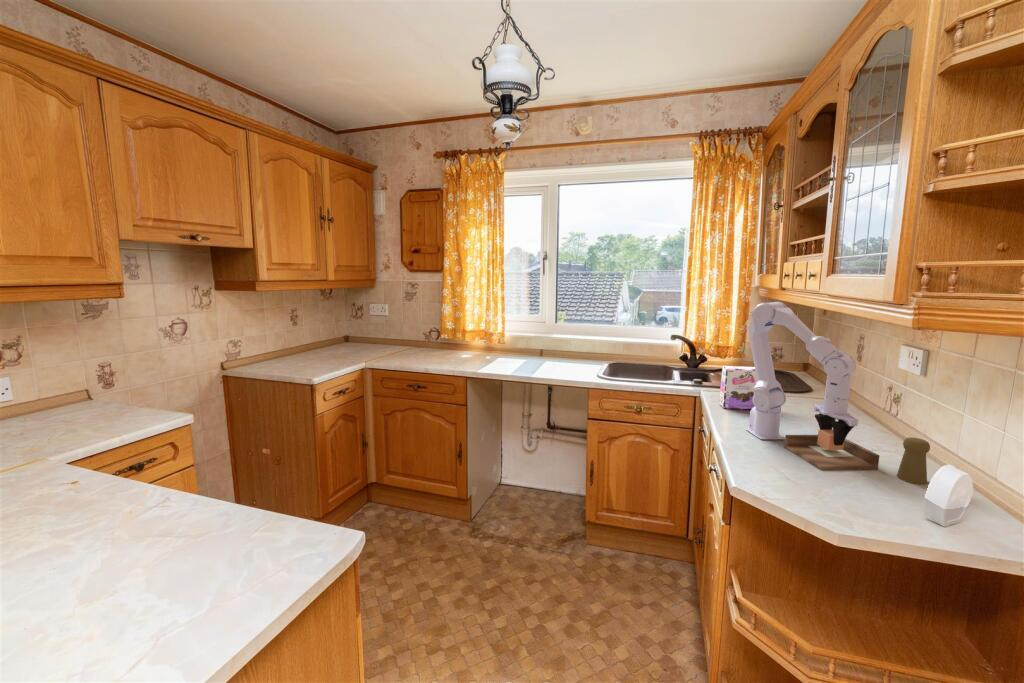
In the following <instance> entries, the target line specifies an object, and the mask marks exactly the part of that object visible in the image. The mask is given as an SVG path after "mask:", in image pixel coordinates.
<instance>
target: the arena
mask: <svg viewBox="0 0 1024 683" xmlns="http://www.w3.org/2000/svg"><path fill="white" fill-rule="evenodd" d="M784 438H785V439H784V448H785V449H786V450H788V451H790V452H791V453H793V454H795V455H796V456H797V457H799V458H801V460H803V461H806V462H807V463H809V464H810V465H812V466H813V467H815V468H816V469H818V470H819V471H822V470H824V471H826V470H827V471H828V470H829V471H832V470H833V471H834V470H836V471H838V470H841V471H842V470H843V471H844V470H846V471H847V470H878V469H879V462H880V455H879V454H878V453H876V452H873V451H871V450H870V449H867V448H866V447H863V446H861V445H859V444H857V443H856V442H854V441H851V440H849V439H848V438H845V440H844V447H843V450H827V449H825V448H823V447H822V446H820V445H818V444H817V440H818V434H785V436H784Z"/></svg>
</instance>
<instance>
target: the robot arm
mask: <svg viewBox="0 0 1024 683" xmlns="http://www.w3.org/2000/svg"><path fill="white" fill-rule="evenodd" d="M750 316H751V318H750V320H749V324H748V326H747V332H748V337H749V343H750V347H751V348H750V349H751V355H752V359H753V365H754V366H753V367H755V372H756V378H757V383H756V385H755V386H754V388H753V390H754V395H753V399H752V400H753V404H754V406H755V407H753V408H752V409H751V410H749V411H750V412H749V421H748V427H747V428H745V430H746V431H747V432H749V433H751V434H752V435H753V436H755V437H757V438H758V439H759V440H765V441H766V440H785V436H783V435H780V425H781V414H782V406H784V405H785V403H786V401H787V396H786V394H785V392H784V391H783V389H782V384H781V383H780V382H779V381H778V379H776V378H777V377H776V374H775V367H774V362H773V357H772V351H771V346H770V345H771V344H770V339H769V334H768V332H769V331H770V330H771V329H772V328H773V327H774V326H775V325H779V326H780V325H781V326H783V327H786V329H788V330H790V331H791V333H793V334H794V335H796V337H797V338H799V339H800V340H802V341H803V342H804V343H805V350H806V351H808V353H810V354H811V355H812V357H814V358H815V359H816V361H818V362H819V363H820V364H821V365H823V370H824V372H825V374H826V375H827V376H826V380H825V382H826V383H825V390H824V391H825V392H824V400H823V404H820V403H819V404H814V405H813V411H815V412H819V413H817V414H814V417H815V420H816V422H817V425H818V427H819V430H833V432H834V445H843V442H844V440H845V439H847V436H848V435H849V433H850V432H851V431H852V430H853V429H854V428H855V427H858V423H859V419H857V418H856V417H854V416H852V415H851V414H850V413H849V412H848V411H849V410H848V408H849V402H850V399H849V398H850V391H851V381H852V374H853V373H854V372H855V371H856V368H857V364H856V361H855V360H854V358H853V356H851V355H848V354H844V353H845V352H844V351H843V350H839V349H838V348H837V347H836V346H834V345H833V344H832V343H831V342H832V339H830V338H829V337H824V336H823V335H818V336H817V335H816V334H815V333H814V332H813V331H812V330H811V329H810V328H809V327H808V326H807V325H806V324H805V323H804V322H803V320H802V319H800V318H799V317H798V316H797V315H796V314H795V313H794V312H793V310H792V309H791V308H790V307H787V305H786V304H785V303H783V302H781V301H774V302H773V301H772V302H760V303H758V304H756V305H755V307H754V308H753V309H752V310H751V311H750Z"/></svg>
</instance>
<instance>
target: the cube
mask: <svg viewBox="0 0 1024 683" xmlns="http://www.w3.org/2000/svg"><path fill="white" fill-rule="evenodd" d="M817 431H818V434H817V435H818V440H817V444H818V445H820V446H822V447H823V448H825V449H827V450H843V447H844V442H843V445H834V432H833V429H832V430H820V429H818V430H817Z"/></svg>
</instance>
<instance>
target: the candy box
mask: <svg viewBox="0 0 1024 683" xmlns="http://www.w3.org/2000/svg"><path fill="white" fill-rule="evenodd" d="M756 383H757V378H756V372H755V367H754V366H731V365H722V367H721V376H720V390H719V403H718V404H719V405H720V406H721V408H722V409H724V408H727V409H726V410H743V409H752V408H753V407H755V406H754V404H753V400H752V399H753V395H754V390H753V388H754V386H755V385H756Z"/></svg>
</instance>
